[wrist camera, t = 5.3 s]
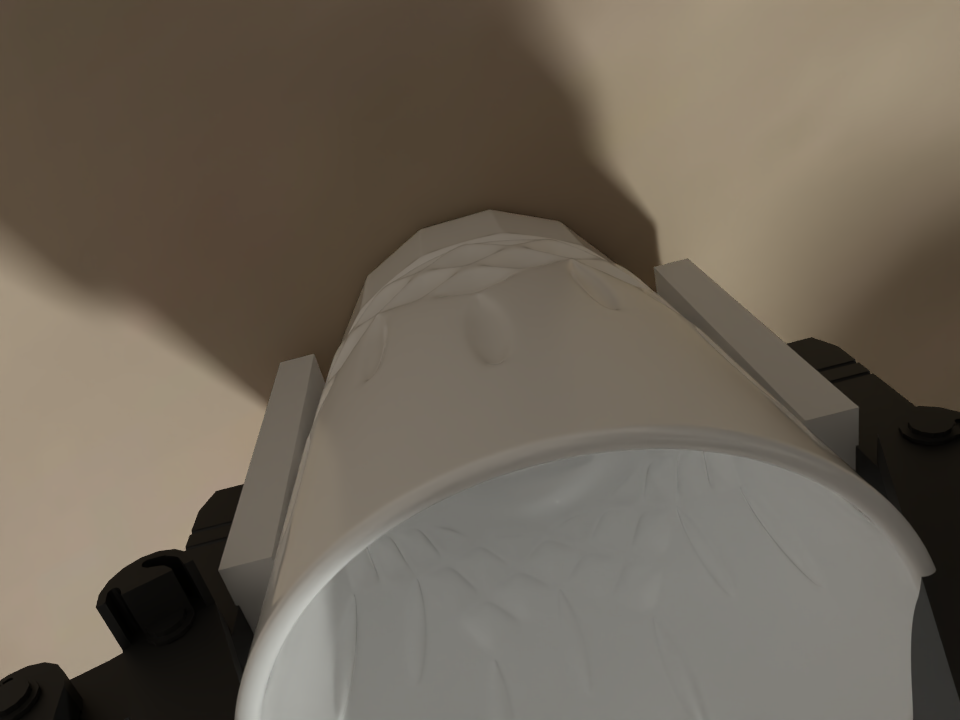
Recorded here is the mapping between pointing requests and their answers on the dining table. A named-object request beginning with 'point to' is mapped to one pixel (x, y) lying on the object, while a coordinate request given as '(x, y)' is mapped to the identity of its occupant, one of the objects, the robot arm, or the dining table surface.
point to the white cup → (569, 514)
